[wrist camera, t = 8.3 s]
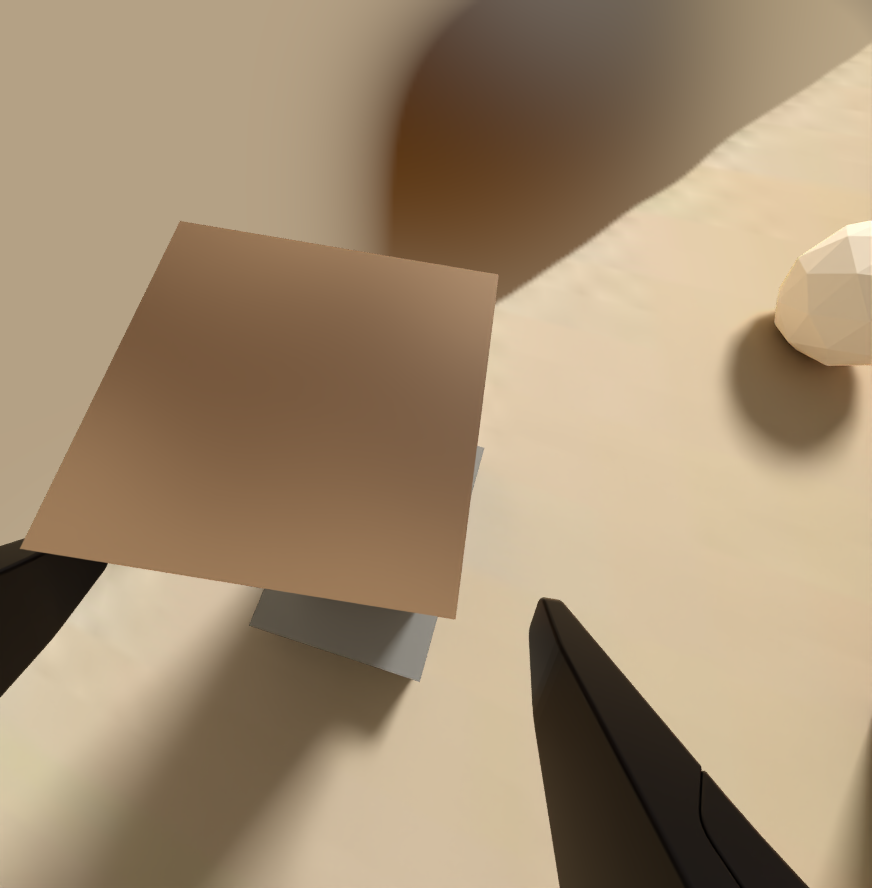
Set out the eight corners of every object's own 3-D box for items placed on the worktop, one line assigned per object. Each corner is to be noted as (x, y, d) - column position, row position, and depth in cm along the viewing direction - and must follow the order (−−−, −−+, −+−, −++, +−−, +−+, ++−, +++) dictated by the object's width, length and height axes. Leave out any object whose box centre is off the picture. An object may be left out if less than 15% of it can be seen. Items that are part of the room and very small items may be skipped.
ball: (771, 384, 28) (837, 389, 21) (740, 270, 28) (796, 234, 21) (918, 345, 26) (1054, 334, 18) (886, 218, 25) (1011, 153, 18)
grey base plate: (418, 668, 19) (419, 681, 16) (272, 620, 19) (249, 625, 16) (474, 466, 22) (484, 448, 19) (350, 428, 22) (342, 404, 20)
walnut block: (421, 601, 17) (455, 619, 5) (300, 581, 17) (20, 548, 5) (439, 483, 19) (499, 274, 6) (329, 465, 19) (180, 221, 6)
